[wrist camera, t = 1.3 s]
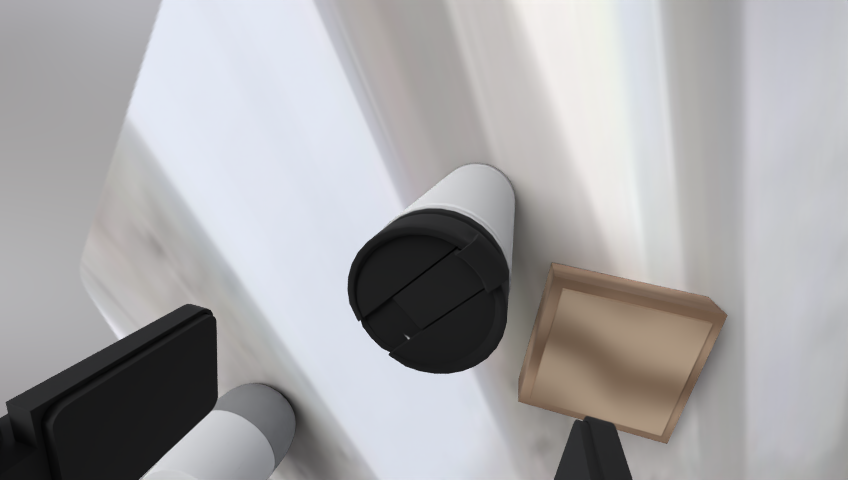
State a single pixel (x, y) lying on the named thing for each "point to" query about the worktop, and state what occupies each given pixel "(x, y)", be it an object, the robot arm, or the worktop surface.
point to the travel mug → (440, 274)
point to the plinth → (617, 350)
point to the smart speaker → (233, 439)
